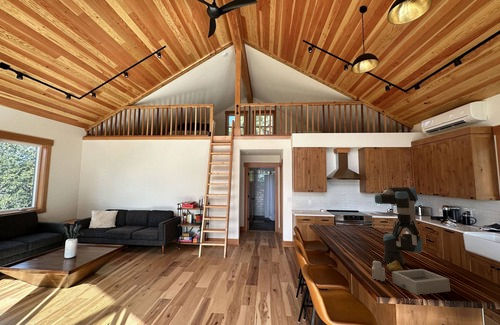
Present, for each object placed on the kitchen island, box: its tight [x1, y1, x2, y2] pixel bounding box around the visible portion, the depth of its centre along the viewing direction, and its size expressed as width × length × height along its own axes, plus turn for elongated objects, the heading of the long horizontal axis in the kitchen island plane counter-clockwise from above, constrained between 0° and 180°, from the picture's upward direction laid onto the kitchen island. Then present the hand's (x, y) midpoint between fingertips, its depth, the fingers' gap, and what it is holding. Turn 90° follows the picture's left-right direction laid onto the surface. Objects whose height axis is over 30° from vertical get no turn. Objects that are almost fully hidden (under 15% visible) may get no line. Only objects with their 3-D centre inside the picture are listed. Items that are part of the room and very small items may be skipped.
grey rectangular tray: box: [391, 268, 451, 296], centre depth 135 cm, size 17×26×7 cm, turn 100°
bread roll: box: [386, 261, 404, 274], centre depth 157 cm, size 13×10×8 cm
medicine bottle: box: [371, 259, 386, 282], centre depth 148 cm, size 7×7×12 cm
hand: (406, 245), depth 146 cm, fingers open, 13 cm apart
